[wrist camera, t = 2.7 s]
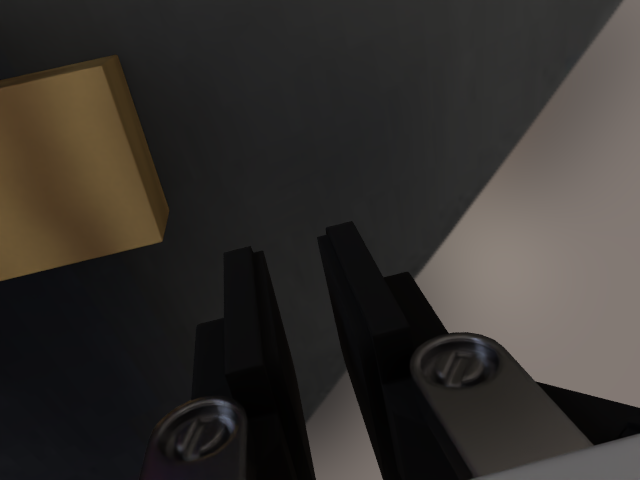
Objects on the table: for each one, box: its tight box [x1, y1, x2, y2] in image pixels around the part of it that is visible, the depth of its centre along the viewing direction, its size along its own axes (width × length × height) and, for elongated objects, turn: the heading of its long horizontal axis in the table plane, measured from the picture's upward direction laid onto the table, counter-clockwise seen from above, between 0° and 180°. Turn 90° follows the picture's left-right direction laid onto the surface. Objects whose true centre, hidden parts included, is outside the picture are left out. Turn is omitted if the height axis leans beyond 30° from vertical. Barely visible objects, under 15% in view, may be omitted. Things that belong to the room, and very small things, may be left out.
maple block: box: [0, 55, 169, 281], centre depth 27 cm, size 8×8×4 cm
